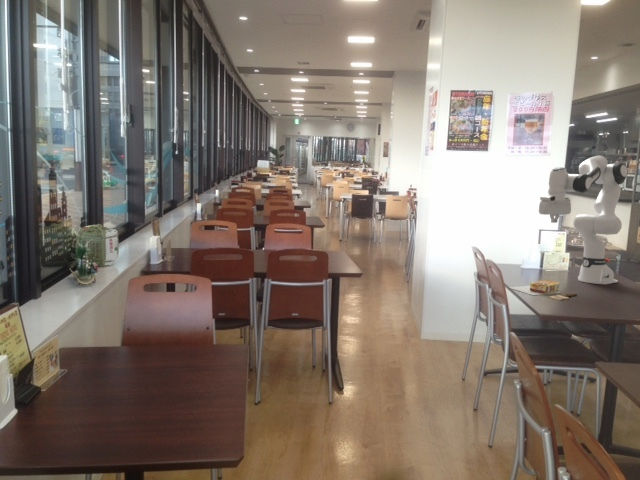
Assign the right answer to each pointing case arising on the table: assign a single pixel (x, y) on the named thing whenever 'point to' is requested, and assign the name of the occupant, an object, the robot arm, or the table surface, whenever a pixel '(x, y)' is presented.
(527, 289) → the mat
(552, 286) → the candy box
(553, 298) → the turner
